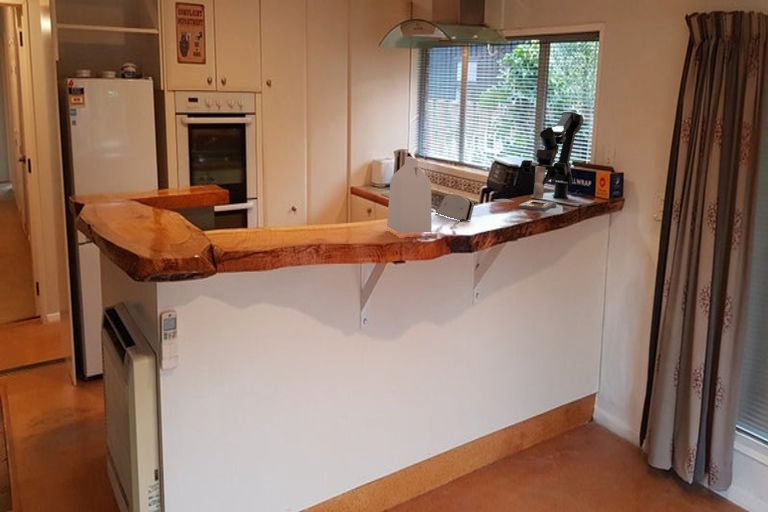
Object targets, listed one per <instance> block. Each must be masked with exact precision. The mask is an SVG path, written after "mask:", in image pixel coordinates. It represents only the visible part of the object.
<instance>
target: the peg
mask: <svg viewBox="0 0 768 512" xmlns="http://www.w3.org/2000/svg"><path fill="white" fill-rule="evenodd" d="M545 169H546V167H544V166H536V171H535V183H534V185H533V186H534V187H533V199H539V200H540V199H544V193H545V192H544V190H545V184H544V185H543V181H544V178H545V176H546V170H545Z"/></svg>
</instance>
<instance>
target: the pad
mask: <svg viewBox="0 0 768 512" xmlns="http://www.w3.org/2000/svg"><path fill="white" fill-rule="evenodd" d="M494 201H495V202H499V203H513V202H516V201H514V200H511V199H507V198H499V199H498V198H497V199H494Z"/></svg>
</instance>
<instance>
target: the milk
mask: <svg viewBox="0 0 768 512" xmlns="http://www.w3.org/2000/svg"><path fill="white" fill-rule="evenodd" d="M389 183H390V184H389V197H388V207H387V209H388V210H387V220H386V221H387V222H386V228H387V227H389V228H391V229H393V230H395V231H397V232H399V233H410V232H431V233H432V182H431V180H430V178H429V177H428V175H426V174H425V173H424V170H423V169H422V168H421V167H419V164H418V158H415V157H413V156H406V157H405V160H404V164H403V165H402V166H401V167H400V168H399V169H398V170H397V171H395V173H393V175H392V176H391V178H390V182H389Z"/></svg>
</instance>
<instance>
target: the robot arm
mask: <svg viewBox="0 0 768 512" xmlns="http://www.w3.org/2000/svg"><path fill="white" fill-rule="evenodd" d="M583 123H584V117H583V116H582V115H581V114H579V113H576V112H575V111H572V110H571V111H570V110H565V111H564V110H563V111H562V113H561V117H560V119H558V121H557V123H556V125H555V126H554V127H553V126H547V127H546V128H545V129H543V130H542V131H541V132H540V133H539V136H540V140H541V144H542V147H544V148H543V149H539V148H538V149H536V154H535V158H537V159H536V161H537V162H533V160H531V159H530V160H529V159H523V160H522V161H521V163H520V164H521V168H522V170H523V172H524V173H526V174H531V176H532V184H534V183H535V171H536V166H544V167H546V169H545V171H546V173H545V178H544V181H543V185H544V186H545V185H546V184H547V183H548V182H549V181H550V184H554V193H553V194H552V197H553V198H554V197H555V198H554V199H569V197H568V187H569V186H572V185H573V176H572V175H573V174H572V172H571V171H572V169H571V166H570V165H569V164H570V160H571V154H572V151H573V146H574V141H575V138H576V135H577V133H579V131H581V128H582V125H583ZM559 145H561V149H560V154H559ZM557 154H559V159H558V160H557V162H556V156H557Z"/></svg>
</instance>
